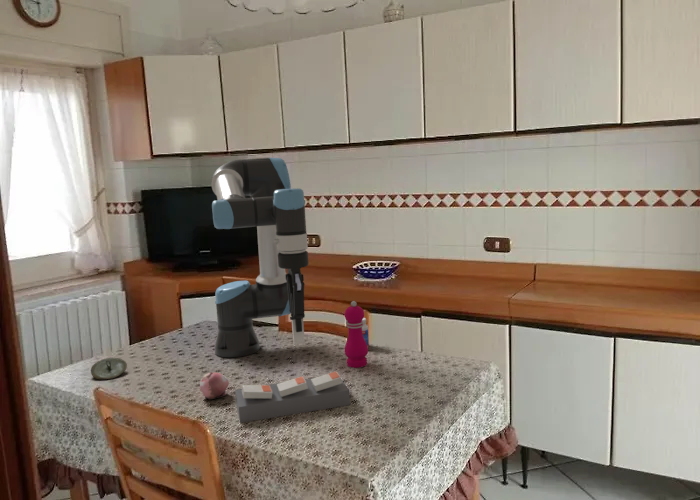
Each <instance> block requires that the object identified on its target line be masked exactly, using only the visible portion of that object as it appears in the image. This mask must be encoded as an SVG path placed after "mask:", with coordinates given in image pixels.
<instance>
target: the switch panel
mask: <svg viewBox="0 0 700 500" xmlns="http://www.w3.org/2000/svg"><path fill="white" fill-rule="evenodd" d="M313 378H314V377H313ZM313 378H312V377H311V378H306V379H305V378H304V379H305V381H306V383H307V387H308V388H307V389H304V390H301V391H298V392H295V393H292V394H289V395H286V396H283V397H281V395H280V393H279V390H278V387H277V384H279V383H280V382H278V383H272V384H269V385H270V387H271V390H272V399H269V398H243V394H242V388H237V389H234V393H235V394H234V395H235V405H236V409H237V416H238V419H239V420H238V421H239V423H240V424H241V423H246V422H253V421H260V420H265V419H271V418H278V417H282V416H288V415H290V416H291V415H297V414H302V413H310V412H314V411H320V410H326V409H333V408H340V407H346V406H351V397H350V396H351V395H350V393H351V392H350V389H349V388H348V386H347V385H346V383H345V382H344V381H343V379H342V378H341V380H342V383H341V384H338V385H335V386H332V387H329V388H326V389H323V390H320V391H317V392H316V390H315V389H314V387H313V385H312V382H311V379H313Z"/></svg>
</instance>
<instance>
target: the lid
mask: <svg viewBox="0 0 700 500" xmlns="http://www.w3.org/2000/svg"><path fill="white" fill-rule="evenodd" d="M127 367H128V365H127V361H125V360H124V359H121V358H119V357H107V358H104V359H101V360H99V361H97V362H95V363H94V364H93V365H92V366H91V368H90V373H91V376H92V377H93V378H94V379H96V380H100V381H101V380H102V381H107V379H108V380H111V379H115V378H117V377H120V376H121V375H123V373H124V372H125V371H126V370H127Z"/></svg>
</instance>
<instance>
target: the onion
mask: <svg viewBox="0 0 700 500" xmlns="http://www.w3.org/2000/svg"><path fill="white" fill-rule="evenodd" d="M229 382H230V381H229V379H228V378H227V377H226V375H224V374H222V373H219V372H217V371H216V372H212V371H210V372H208V373H205V374H204V375H203V376H202V377H201V379H200V382H199V389H200V391H201V393H202V395H203V396H204V397H205V398H206V399H207V400H208V401H211V400H213V399H218V398H222V397H225V396H226V395H227V394H228V392H227V389H228V387H229Z"/></svg>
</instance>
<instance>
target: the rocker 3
mask: <svg viewBox="0 0 700 500" xmlns="http://www.w3.org/2000/svg"><path fill="white" fill-rule="evenodd" d="M310 379H311V378H310ZM341 379H342V378H341V375H340V374H339V373H338V372H337V371H335V370H334V371H332V372H329V373H326V374H322V375H319V376H317V377H313V379H311V382H312V385H313V387H314V389H315V390H316V392H317V391H320V390H323V389H326V388H329V387H332V386H335V385H338V384H341V383H342V381H343V379H342V380H341Z"/></svg>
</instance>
